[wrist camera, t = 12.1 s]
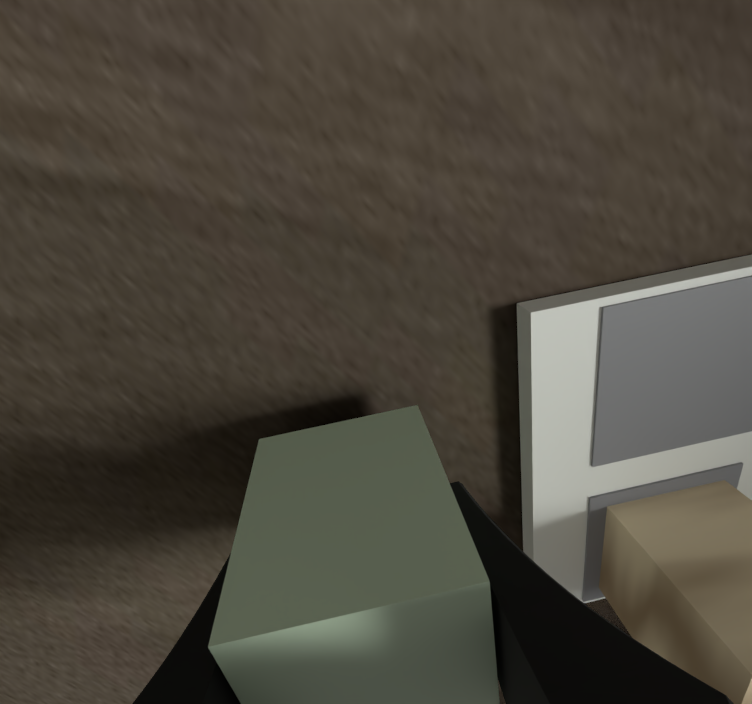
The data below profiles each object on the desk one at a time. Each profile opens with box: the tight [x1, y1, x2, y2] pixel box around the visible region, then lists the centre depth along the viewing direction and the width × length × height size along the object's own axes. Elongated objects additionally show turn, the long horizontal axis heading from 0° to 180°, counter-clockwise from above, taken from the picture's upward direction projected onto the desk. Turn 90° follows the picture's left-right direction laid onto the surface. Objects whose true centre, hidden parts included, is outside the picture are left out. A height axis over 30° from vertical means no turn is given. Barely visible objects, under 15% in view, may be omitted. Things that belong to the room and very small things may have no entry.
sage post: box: [208, 405, 500, 704], centre depth 11 cm, size 5×5×6 cm
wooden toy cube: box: [599, 480, 752, 704], centre depth 15 cm, size 5×5×6 cm
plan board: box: [517, 255, 752, 603], centre depth 16 cm, size 15×11×1 cm
